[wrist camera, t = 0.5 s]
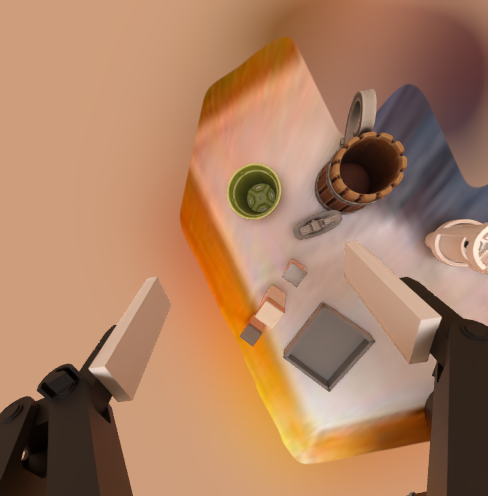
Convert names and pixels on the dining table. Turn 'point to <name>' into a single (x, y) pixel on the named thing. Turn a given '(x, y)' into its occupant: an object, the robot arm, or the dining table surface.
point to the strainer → (461, 244)
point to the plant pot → (253, 191)
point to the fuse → (271, 307)
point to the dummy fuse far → (252, 330)
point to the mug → (361, 162)
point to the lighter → (317, 224)
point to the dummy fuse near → (294, 273)
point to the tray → (327, 346)
